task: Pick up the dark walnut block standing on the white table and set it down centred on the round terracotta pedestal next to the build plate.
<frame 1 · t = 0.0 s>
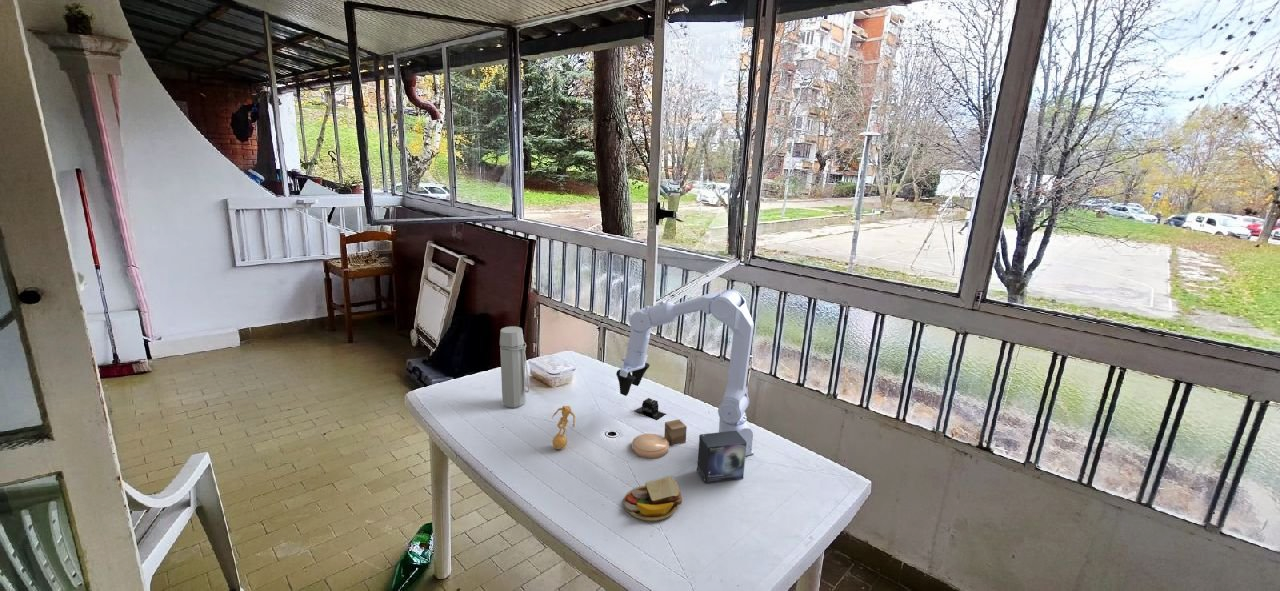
hand: (629, 389, 160), 11 cm above the table, tool pointing down, fingers open, 7 cm apart
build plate: (649, 414, 169), on the table
walnut block: (675, 440, 154), on the table
water bottle: (516, 404, 172), on the table
toy sandwich meal: (652, 505, 126), on the table
small box: (719, 475, 138), on the table
pedestal: (650, 448, 149), on the table
figurine: (562, 447, 149), on the table
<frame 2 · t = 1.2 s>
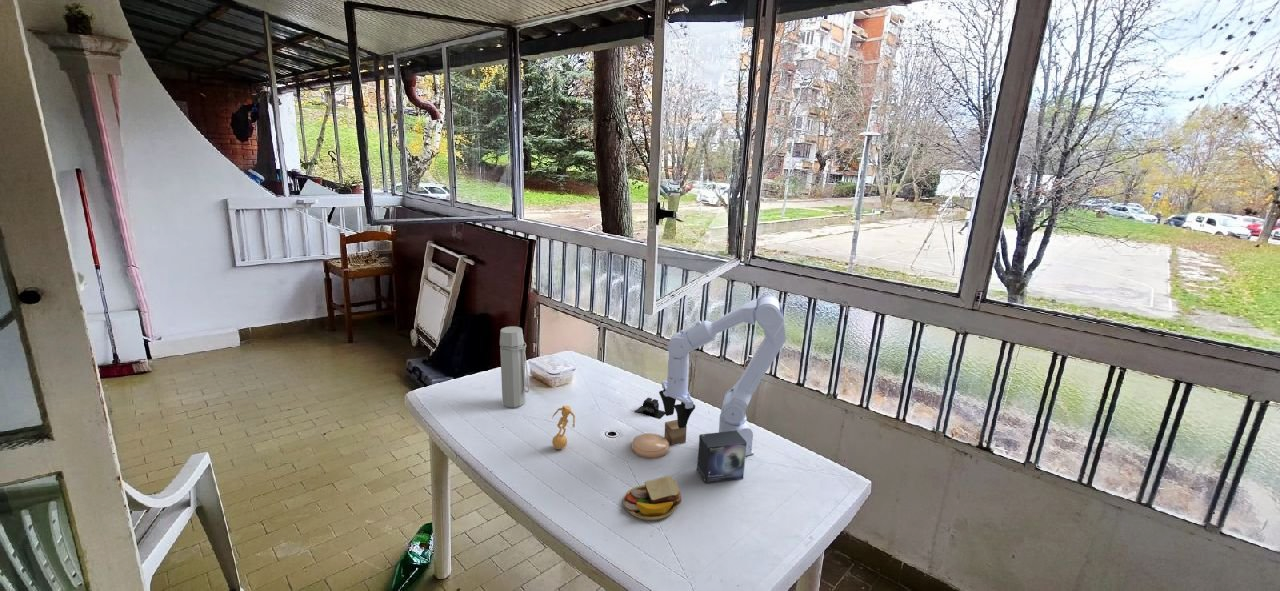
hand: (675, 420, 152), 6 cm above the table, tool pointing down, fingers open, 7 cm apart
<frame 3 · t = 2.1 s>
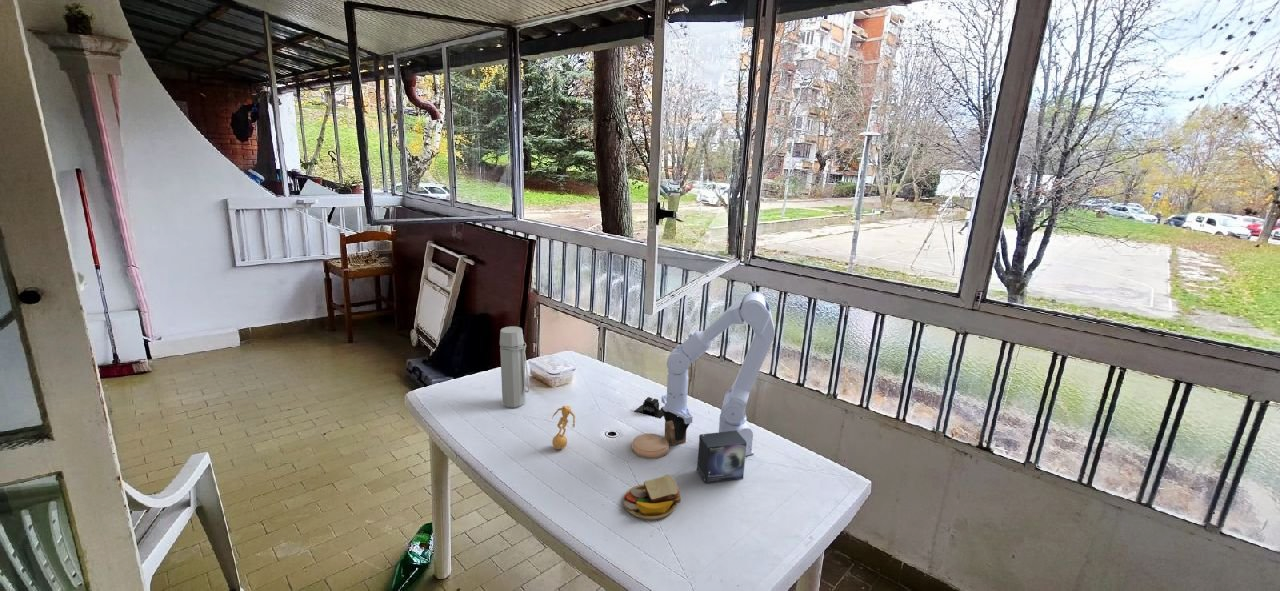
hand: (675, 435, 153), 1 cm above the table, tool pointing down, fingers closed on walnut block, 4 cm apart
walnut block: (675, 439, 154), on the table, touching gripper
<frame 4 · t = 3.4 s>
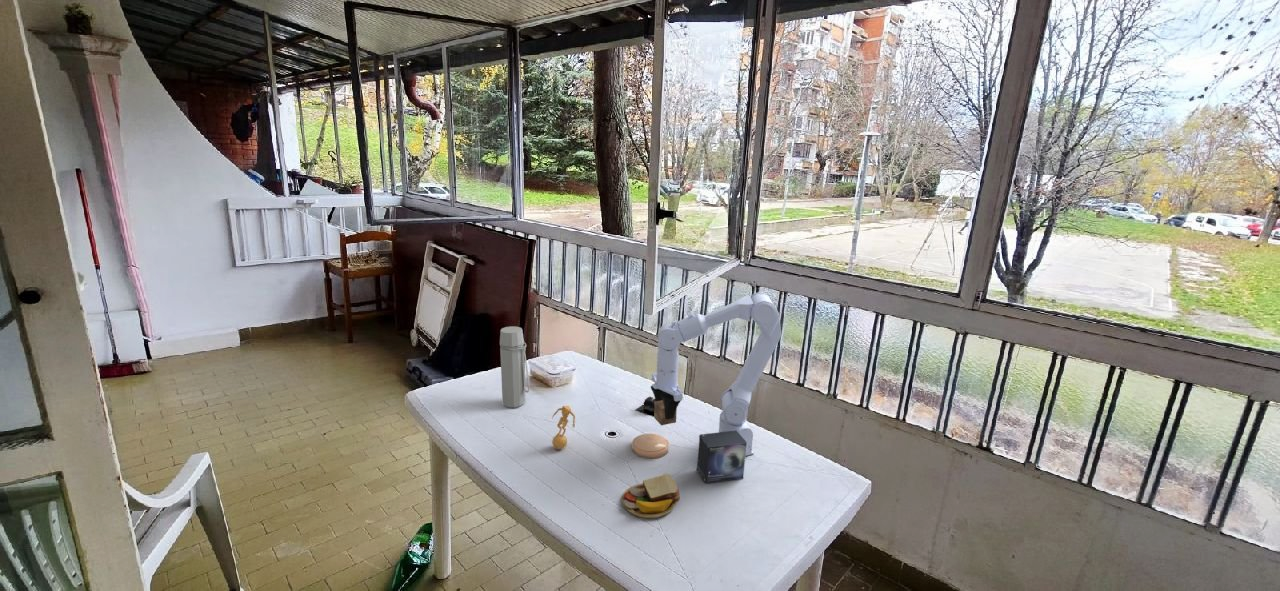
hand: (665, 414, 149), 9 cm above the table, tool pointing down, fingers closed on walnut block, 4 cm apart
walnut block: (665, 420, 150), point 7 cm above the table, touching gripper
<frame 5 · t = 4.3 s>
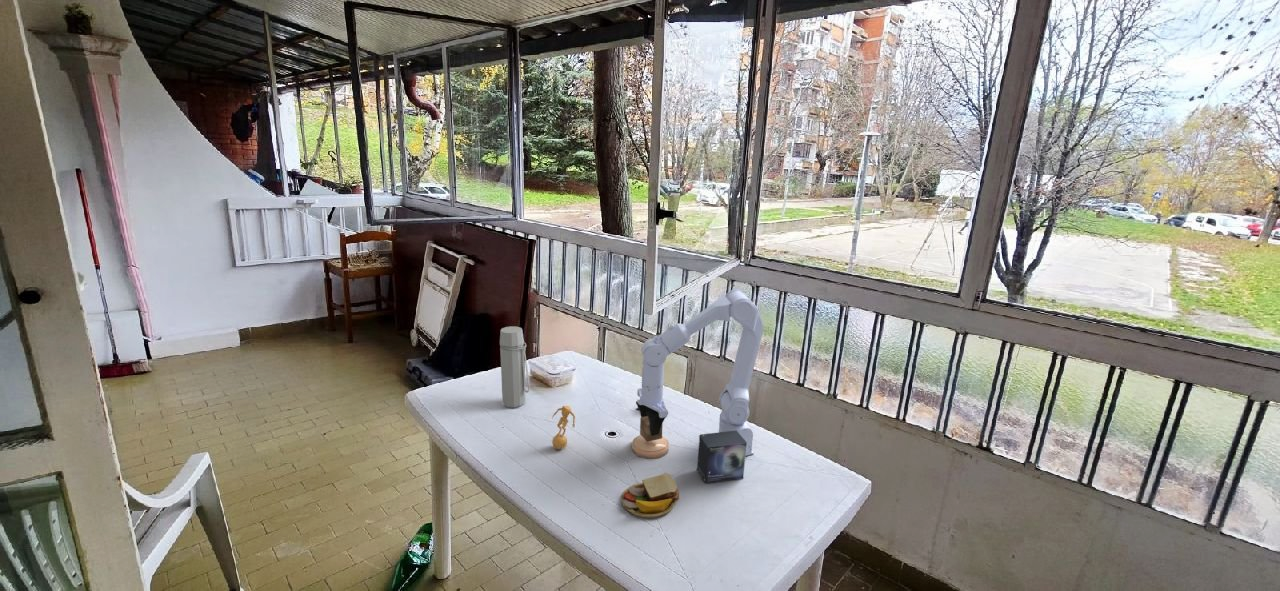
hand: (650, 430, 147), 6 cm above the table, tool pointing down, fingers closed on walnut block, 4 cm apart
walnut block: (650, 436, 148), point 4 cm above the table, touching gripper
when the fingers open (5 cm above the table, at t = 5.0 s): walnut block stays where it is, resting on pedestal.
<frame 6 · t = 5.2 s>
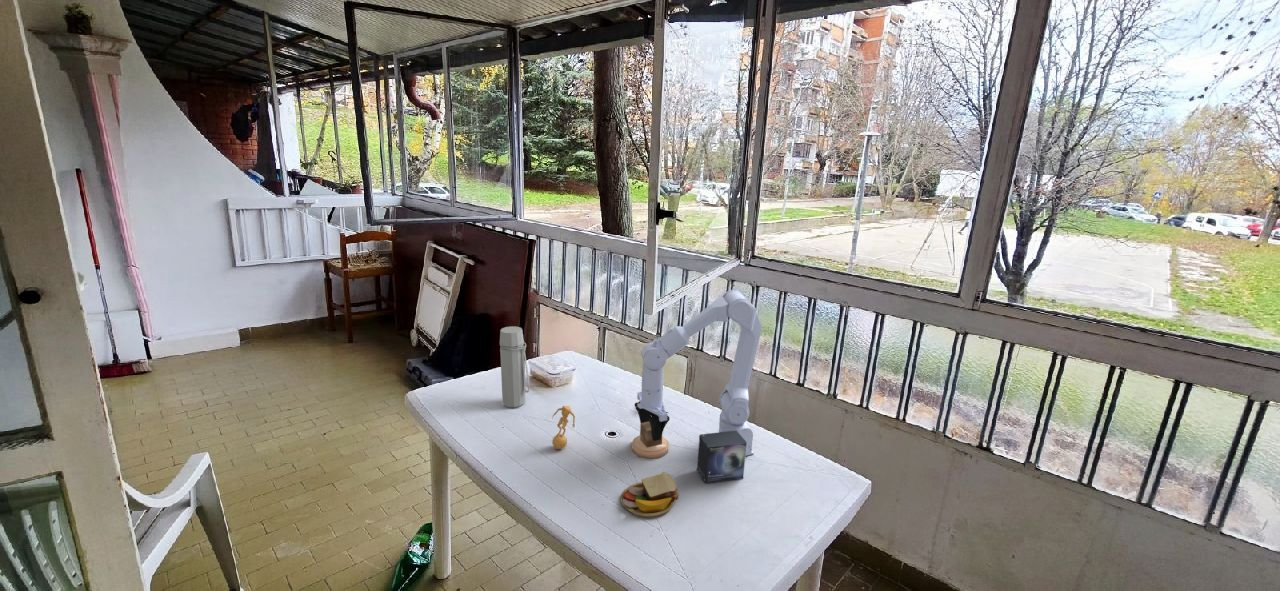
hand: (650, 433, 148), 5 cm above the table, tool pointing down, fingers open, 6 cm apart
walnut block: (650, 441, 148), point 2 cm above the table, touching pedestal
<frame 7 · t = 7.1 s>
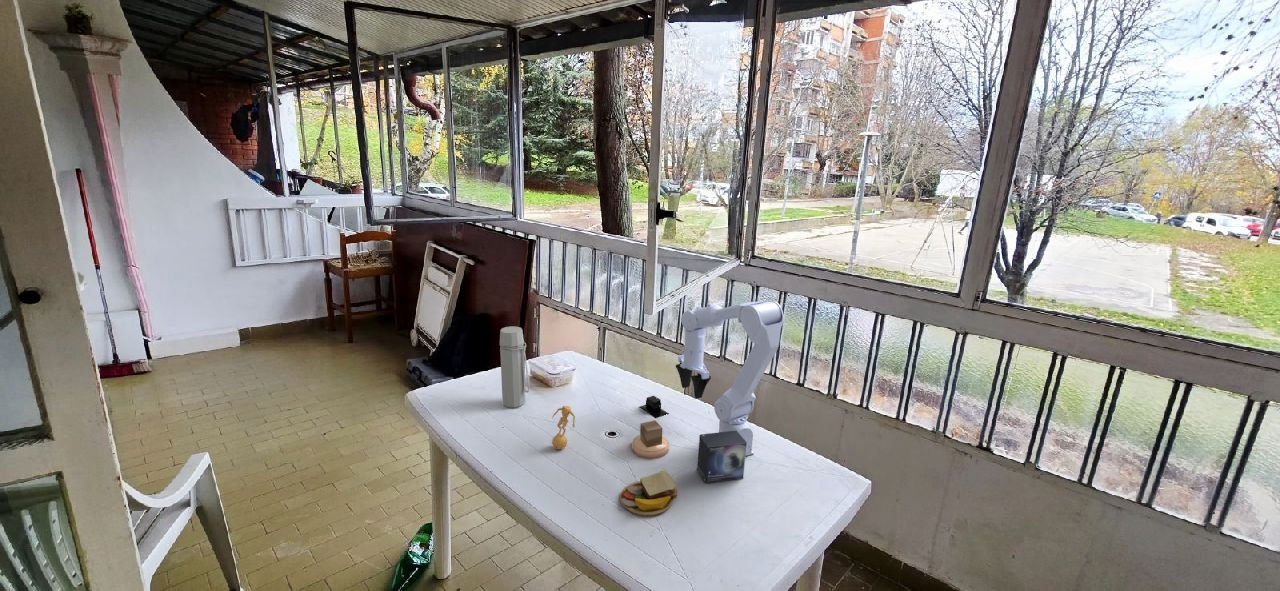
hand: (691, 392, 161), 10 cm above the table, tool pointing down, fingers open, 7 cm apart
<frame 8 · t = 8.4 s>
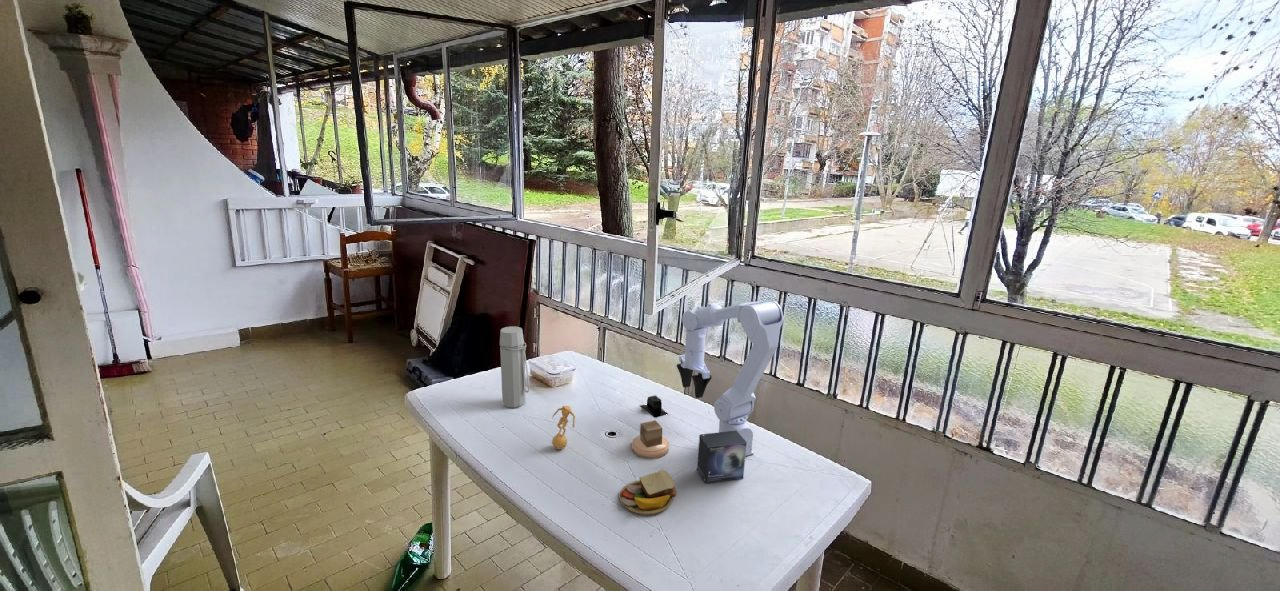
hand: (692, 391, 161), 10 cm above the table, tool pointing down, fingers open, 7 cm apart
at the end: walnut block 0.1 cm off-centre on the pedestal, point 2.0 cm above the pedestal's base; walnut block tilted 0°; the gripper is holding nothing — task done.
